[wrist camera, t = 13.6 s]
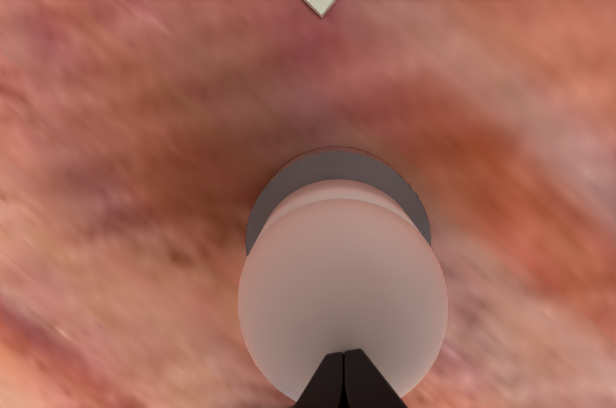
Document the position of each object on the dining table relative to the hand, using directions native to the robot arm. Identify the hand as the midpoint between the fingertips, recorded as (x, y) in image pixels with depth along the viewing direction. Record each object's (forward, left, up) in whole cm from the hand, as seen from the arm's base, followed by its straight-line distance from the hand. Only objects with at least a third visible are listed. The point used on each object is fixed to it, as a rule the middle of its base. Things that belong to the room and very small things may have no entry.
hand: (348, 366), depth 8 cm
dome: (0, 0, -6) cm, 6 cm away
